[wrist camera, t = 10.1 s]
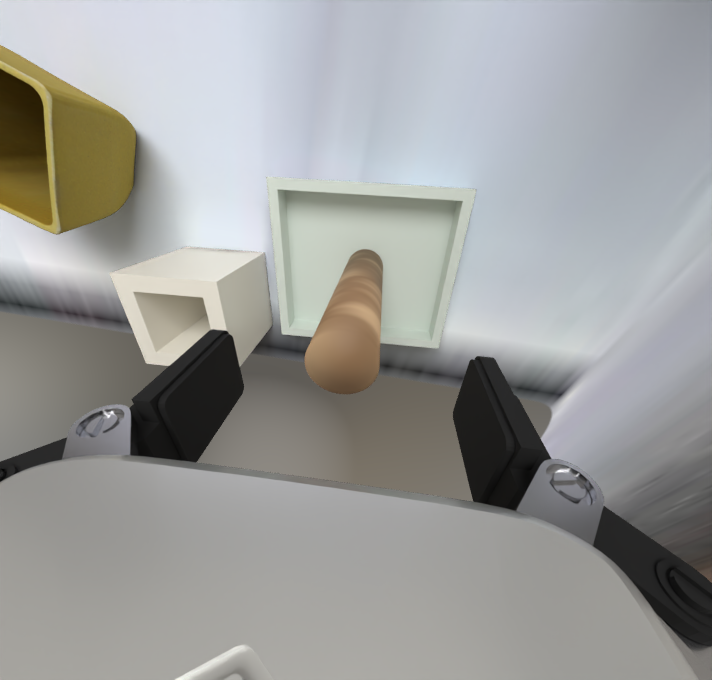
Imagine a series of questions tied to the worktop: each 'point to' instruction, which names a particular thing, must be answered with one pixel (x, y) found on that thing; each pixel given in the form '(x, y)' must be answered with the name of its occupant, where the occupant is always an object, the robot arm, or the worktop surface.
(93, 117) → the flower pot
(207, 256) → the white square holder
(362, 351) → the dowel
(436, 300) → the tray
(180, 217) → the worktop surface
